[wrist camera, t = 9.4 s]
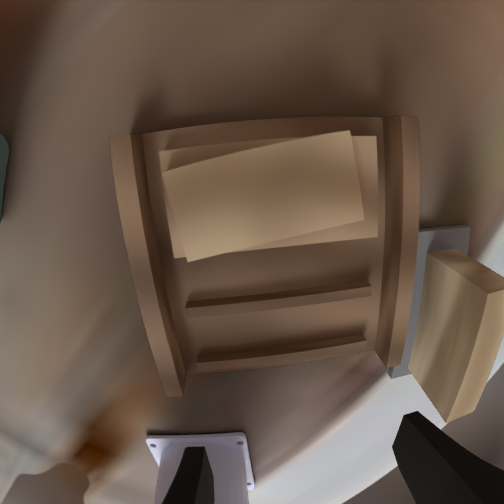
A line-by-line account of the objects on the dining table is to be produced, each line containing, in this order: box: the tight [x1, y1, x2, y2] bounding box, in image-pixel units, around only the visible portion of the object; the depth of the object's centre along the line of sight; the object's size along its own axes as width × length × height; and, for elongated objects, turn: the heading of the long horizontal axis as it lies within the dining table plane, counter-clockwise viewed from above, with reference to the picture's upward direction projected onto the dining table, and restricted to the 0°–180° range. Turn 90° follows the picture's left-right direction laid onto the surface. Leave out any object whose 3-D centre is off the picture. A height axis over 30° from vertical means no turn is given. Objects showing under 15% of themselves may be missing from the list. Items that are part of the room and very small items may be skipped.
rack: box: [109, 116, 420, 397], centre depth 16 cm, size 14×14×3 cm
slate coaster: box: [388, 224, 471, 379], centre depth 19 cm, size 11×5×1 cm, turn 5°
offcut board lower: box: [159, 136, 378, 258], centre depth 15 cm, size 5×10×1 cm, turn 95°
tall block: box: [408, 249, 504, 423], centre depth 16 cm, size 2×9×6 cm, turn 5°
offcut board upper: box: [162, 130, 364, 262], centre depth 14 cm, size 4×8×1 cm, turn 103°
